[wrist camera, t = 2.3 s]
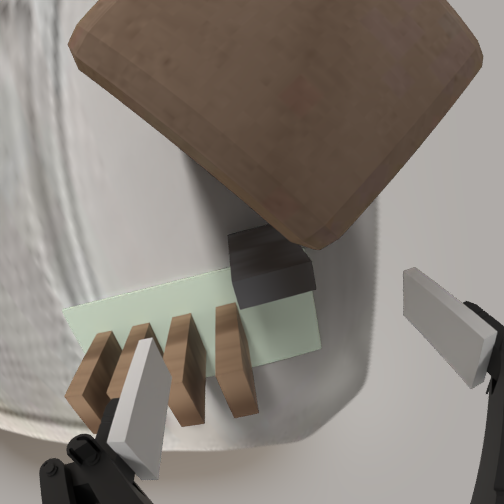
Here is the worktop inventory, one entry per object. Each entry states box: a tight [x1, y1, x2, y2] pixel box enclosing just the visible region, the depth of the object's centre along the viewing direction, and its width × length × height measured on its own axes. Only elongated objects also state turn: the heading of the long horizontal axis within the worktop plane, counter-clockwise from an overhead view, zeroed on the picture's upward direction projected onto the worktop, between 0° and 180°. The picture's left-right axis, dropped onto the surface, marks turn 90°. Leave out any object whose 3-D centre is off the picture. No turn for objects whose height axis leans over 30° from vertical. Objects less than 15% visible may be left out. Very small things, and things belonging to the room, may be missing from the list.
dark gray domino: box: [228, 224, 316, 310], centre depth 24 cm, size 5×2×10 cm, turn 104°
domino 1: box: [106, 322, 164, 399], centre depth 26 cm, size 5×2×10 cm, turn 14°
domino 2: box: [163, 313, 207, 427], centre depth 26 cm, size 5×2×10 cm, turn 14°
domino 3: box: [215, 302, 259, 418], centre depth 27 cm, size 5×2×10 cm, turn 13°
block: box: [68, 0, 483, 250], centre depth 15 cm, size 10×10×20 cm
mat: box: [62, 248, 322, 377], centre depth 31 cm, size 12×26×1 cm, turn 103°
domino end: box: [64, 331, 122, 434], centre depth 26 cm, size 5×2×10 cm, turn 14°
